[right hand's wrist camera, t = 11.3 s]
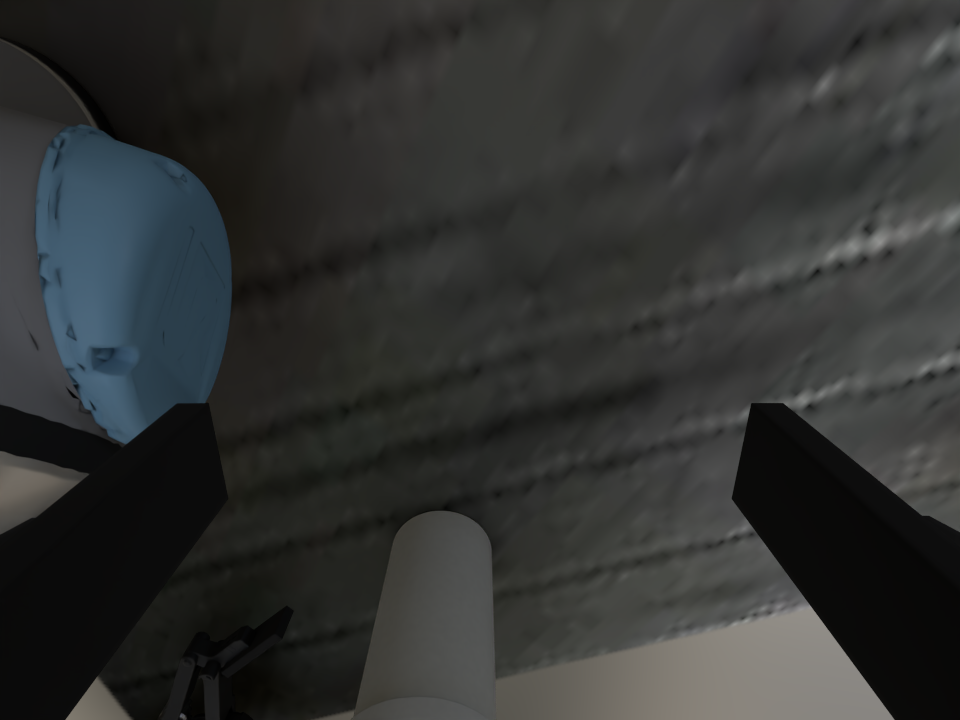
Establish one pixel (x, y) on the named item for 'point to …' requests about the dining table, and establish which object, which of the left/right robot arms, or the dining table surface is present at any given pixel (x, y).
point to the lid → (419, 710)
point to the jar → (435, 617)
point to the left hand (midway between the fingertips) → (346, 668)
